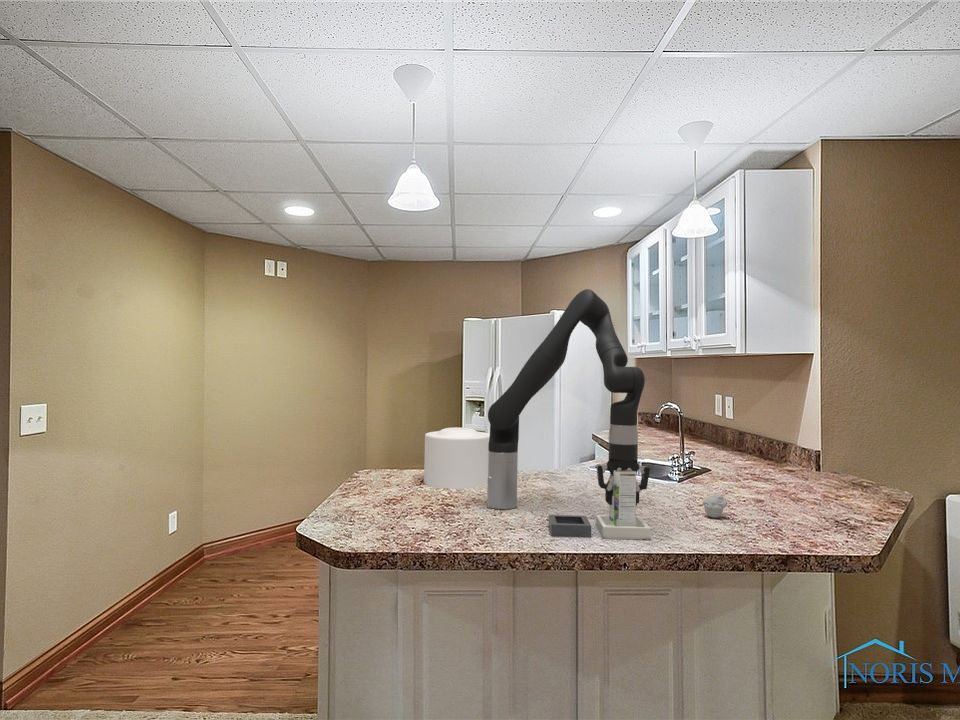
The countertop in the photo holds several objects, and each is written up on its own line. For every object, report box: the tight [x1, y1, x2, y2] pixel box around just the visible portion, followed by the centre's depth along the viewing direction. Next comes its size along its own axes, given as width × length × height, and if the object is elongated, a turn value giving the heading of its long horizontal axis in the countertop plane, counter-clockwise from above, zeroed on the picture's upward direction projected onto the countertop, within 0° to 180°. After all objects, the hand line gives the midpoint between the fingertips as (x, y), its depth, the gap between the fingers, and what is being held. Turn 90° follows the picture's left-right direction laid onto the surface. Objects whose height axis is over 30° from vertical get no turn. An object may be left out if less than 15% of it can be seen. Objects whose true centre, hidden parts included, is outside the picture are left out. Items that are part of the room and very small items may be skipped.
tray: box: [595, 514, 652, 541], centre depth 154 cm, size 12×12×3 cm
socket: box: [548, 514, 592, 538], centre depth 155 cm, size 10×10×3 cm
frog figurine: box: [702, 493, 729, 519], centre depth 172 cm, size 6×7×7 cm
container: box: [423, 426, 490, 490], centre depth 218 cm, size 25×25×20 cm
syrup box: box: [608, 470, 637, 526], centre depth 154 cm, size 6×6×14 cm
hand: (622, 504), depth 154 cm, fingers closed on syrup box, 6 cm apart
